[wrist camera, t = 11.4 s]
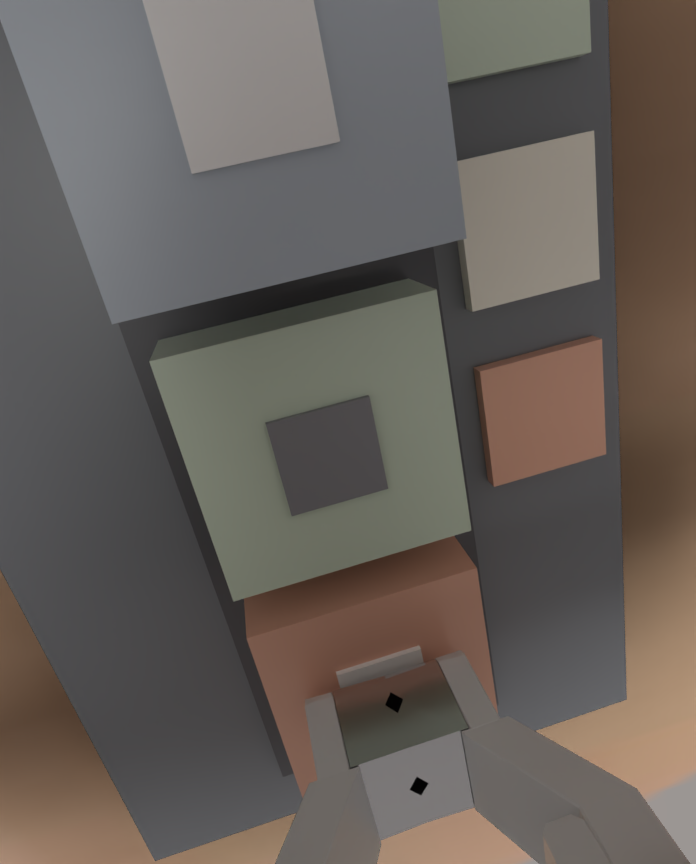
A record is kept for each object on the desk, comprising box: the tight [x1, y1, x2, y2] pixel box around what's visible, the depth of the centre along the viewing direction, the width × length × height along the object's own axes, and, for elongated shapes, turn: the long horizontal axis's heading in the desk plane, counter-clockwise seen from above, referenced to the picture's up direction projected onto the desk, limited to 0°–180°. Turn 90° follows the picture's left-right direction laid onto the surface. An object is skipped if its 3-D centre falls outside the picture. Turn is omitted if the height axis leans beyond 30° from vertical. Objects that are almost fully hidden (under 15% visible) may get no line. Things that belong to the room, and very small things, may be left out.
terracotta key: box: [244, 536, 498, 798], centre depth 12 cm, size 4×4×2 cm
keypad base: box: [0, 0, 627, 861], centre depth 10 cm, size 24×12×2 cm, turn 12°
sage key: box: [149, 278, 471, 602], centre depth 10 cm, size 4×4×2 cm
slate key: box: [0, 0, 466, 324], centre depth 7 cm, size 4×4×2 cm
